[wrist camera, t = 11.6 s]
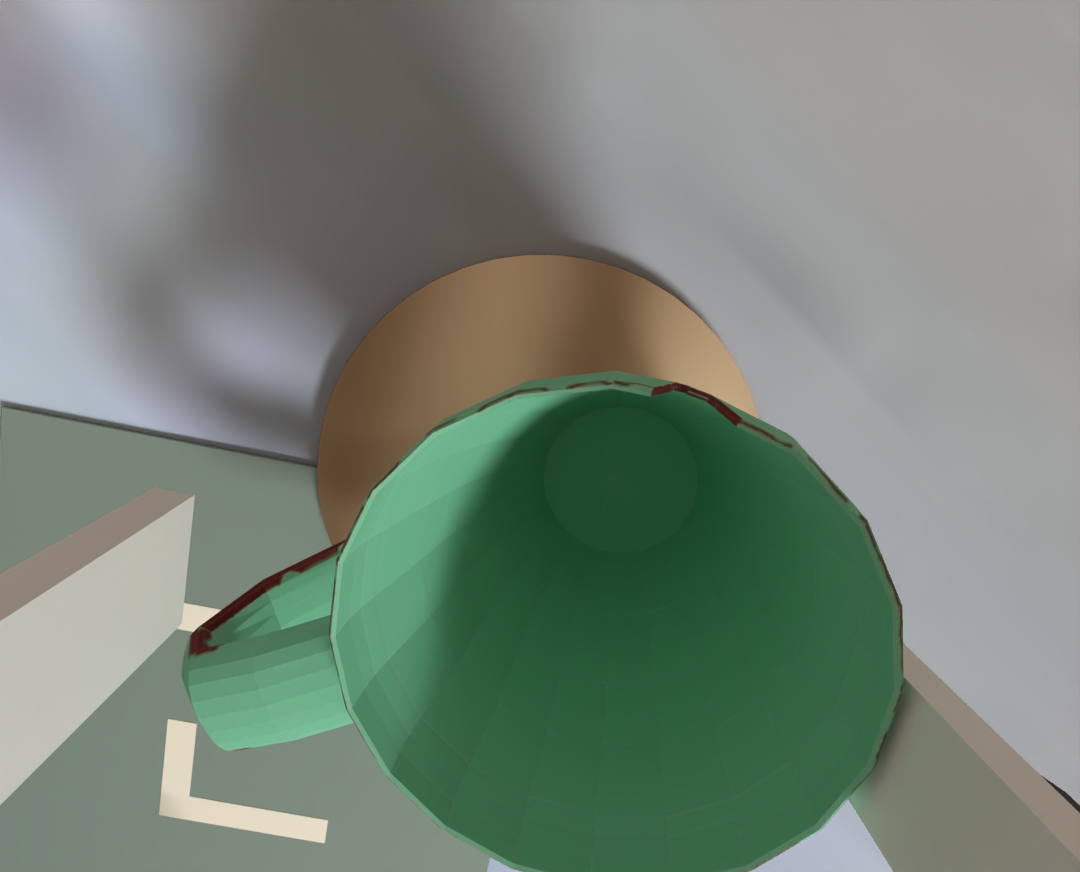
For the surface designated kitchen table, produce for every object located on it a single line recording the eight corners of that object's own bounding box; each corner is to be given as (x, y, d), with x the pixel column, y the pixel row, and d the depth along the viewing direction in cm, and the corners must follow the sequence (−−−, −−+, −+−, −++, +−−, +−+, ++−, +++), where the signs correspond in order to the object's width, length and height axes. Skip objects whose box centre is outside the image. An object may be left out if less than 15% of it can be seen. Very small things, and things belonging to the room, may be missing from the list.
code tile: (-9, 873, 26) (-13, 877, 26) (5, 406, 22) (1, 407, 22) (468, 953, 27) (467, 957, 27) (565, 514, 23) (565, 516, 23)
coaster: (298, 634, 24) (291, 643, 23) (355, 211, 21) (350, 209, 20) (698, 708, 24) (702, 718, 24) (813, 306, 21) (820, 307, 21)
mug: (745, 274, 19) (840, 300, 10) (818, 588, 22) (955, 861, 12) (284, 408, 23) (19, 527, 13) (387, 673, 25) (223, 943, 15)
